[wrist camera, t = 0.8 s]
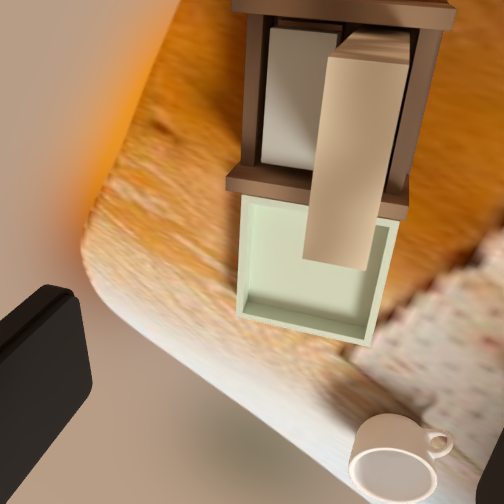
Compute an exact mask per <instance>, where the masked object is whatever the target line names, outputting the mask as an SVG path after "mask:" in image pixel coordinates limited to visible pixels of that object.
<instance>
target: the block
mask: <svg viewBox="0 0 504 504" xmlns="http://www.w3.org/2000/svg"><path fill="white" fill-rule="evenodd" d="M409 51H410V28H399V27H387V26H376V25H364V24H361V25H360V26H359V27H358V28H357V29H356V30H355V31H354V32H353V33H352V34H351V35H350V36H349V37H348V38H347V39H346V40H345V41H344V42H343V43H342V44H341V45H340V46H339V47H338V48H337V49H336V50H334V51H333V52H332V53H331V54H330V55H329V56H328V61H327V69H326V77H325V84H324V92H323V100H322V108H321V116H320V123H319V131H318V139H317V147H316V155H315V162H314V170H313V178H312V186H311V194H310V201H309V209H308V217H307V225H306V233H305V240H304V248H303V256H302V259H306V260H311V261H317V262H322V263H327V264H332V265H337V266H342V267H348V268H353V269H358V270H363V271H366V268H367V264H368V259H369V254H370V249H371V245H372V240H373V235H374V230H375V226H376V221H377V216H378V211H379V207H380V202H381V197H382V192H383V188H384V183H385V178H386V173H387V169H388V164H389V159H390V154H391V150H392V145H393V140H394V135H395V130H396V126H397V121H398V116H399V111H400V107H401V102H402V97H403V92H404V88H405V83H406V78H407V73H408V69H409Z"/></svg>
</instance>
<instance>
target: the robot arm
mask: <svg viewBox="0 0 504 504" xmlns="http://www.w3.org/2000/svg"><path fill="white" fill-rule="evenodd" d="M91 389H92V375H91V369H90V363H89V357H88V351H87V345H86V339H85V333H84V327H83V321H82V315H81V309H80V303H79V300H78V298H77V297H75V296H74V294H73V292H72V291H71V290H70V289H67V288H62V287H58V286H53V285H49V284H47V285H43V286H42V287H40V288H39V289H38V290H37V291H35V292H34V293H33V294H32V295H31V296H29V297H28V298H27V299H26V300H25V301H24V302H22V303H21V304H20V305H19V306H17V307H16V308H15V309H14V310H13V311H11V312H10V313H9V314H8V315H7V316H5V317H4V318H3V319H2V320H1V321H0V504H6V502H7V501H8V500H9V498H10V497H11V496H12V495H13V493H14V492H15V491H16V489H17V488H18V487H19V486H20V484H21V483H22V482H23V480H24V479H25V477H26V476H27V475H28V474H29V473H30V471H31V470H32V469H33V467H34V466H35V465H36V463H37V462H38V461H39V460H40V458H41V457H42V456H43V454H44V453H45V452H46V451H47V449H48V448H49V447H50V445H51V444H52V443H53V441H54V440H55V439H56V438H57V436H58V435H59V434H60V432H61V431H62V430H63V428H64V427H65V426H66V424H67V423H68V422H69V421H70V419H71V418H72V417H73V416H74V414H75V413H76V412H77V410H78V409H79V408H80V406H81V405H82V404H83V403H84V401H85V400H86V399H87V397H88V396H89V394H90V392H91ZM476 504H504V428H503V431H502V433H501V435H500V437H499V439H498V441H497V444H496V446H495V448H494V450H493V452H492V454H491V457H490V459H489V461H488V463H487V465H486V468H485V470H484V472H483V474H482V476H481V478H480V481H479V483H478V486H477V490H476Z"/></svg>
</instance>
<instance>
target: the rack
mask: <svg viewBox="0 0 504 504" xmlns="http://www.w3.org/2000/svg"><path fill="white" fill-rule="evenodd" d="M456 11H457V9H456V8H454V7H453V6H452V5H450V4H449V3H436V2H423V1H410V0H231V12H240V13H247V35H246V56H245V78H244V99H243V121H242V142H241V161H240V162H239V163H238V164H237V165H236V166H235V167H234V168H233V170H232V171H231V172H230V173H229V174H228V175H227V176H226V190H227V191H232V192H238V193H244V194H250V195H256V196H262V197H268V198H274V199H280V200H286V201H292V202H298V203H304V204H309V201H310V194H311V186H312V178H313V170H306V169H300V168H293V167H287V166H280V165H274V164H267V163H261V157H262V142H263V128H264V113H265V99H266V84H267V70H268V56H269V41H270V28H272V27H274V26H277V25H278V20H280V19H283V18H296V19H307V20H319V21H330V22H342V23H346V27H345V34H344V41H345V40H346V39H347V38H348V37H349V36H350V35H351V34H352V33H353V32H354V31H355V30H356V29H357V28H358V27H359V26H360V25H361V24H364V25H376V26H387V27H399V28H410V51H409V69H408V73H407V78H406V83H405V88H404V92H403V97H402V102H401V107H400V111H399V116H398V121H397V126H396V130H395V135H394V140H393V145H392V150H391V154H390V159H389V164H388V169H387V173H386V178H385V183H384V188H383V192H382V197H381V202H380V207H379V211H378V216H381V217H386V218H392V219H398V220H404V221H405V220H406V216H407V212H408V208H409V174H410V170H411V166H412V162H413V157H414V153H415V149H416V145H417V140H418V136H419V132H420V128H421V123H422V119H423V115H424V111H425V107H426V102H427V98H428V94H429V90H430V85H431V81H432V77H433V73H434V68H435V64H436V60H437V56H438V51H439V47H440V43H441V39H442V35H443V30H447V31H452V28H453V23H454V19H455V15H456ZM344 41H343V42H344Z"/></svg>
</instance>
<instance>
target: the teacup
mask: <svg viewBox="0 0 504 504" xmlns="http://www.w3.org/2000/svg"><path fill="white" fill-rule="evenodd" d="M437 436H445V437H447V444H446V445H445V446H444V447H443V448H441V449H435V448H434V447H432V443H431V440H432V438H434V437H437ZM452 447H453V438H452V436H451V435H450V434H449V433H448V432H446V431H444V430H439V429H425V428H421V427H420V426H419V425H418V424H417V423H415V422H414V421H413V420H411V419H409V418H407V417H405V416H402V415H398V414H391V413H386V414H379V415H376V416H373V417H371V418H369V419H368V420H366V421H365V422H364V423H363V424H362V425H361V426H360V427H359V429H358V431H357V433H356V436H355V440H354V444H353V448H352V452H351V456H350V460H349V466H348V473H349V477H350V479H351V481H352V483H353V484H354V485H355V486H356V488H358V489H359V490H360V491H361V492H362V493H364V494H365V495H367V496H369V497H371V498H373V499H376V500H378V501H382V502H386V503H391V504H411V503H416V502H419V501H422V500H424V499H426V498H427V497H429V496H430V495H431V494H432V493H433V492H434V490H435V489H436V486H437V471H436V463H435V458H436V457H442V456H444V455H446V454H448V453H449V452H450V451H451V449H452Z"/></svg>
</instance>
